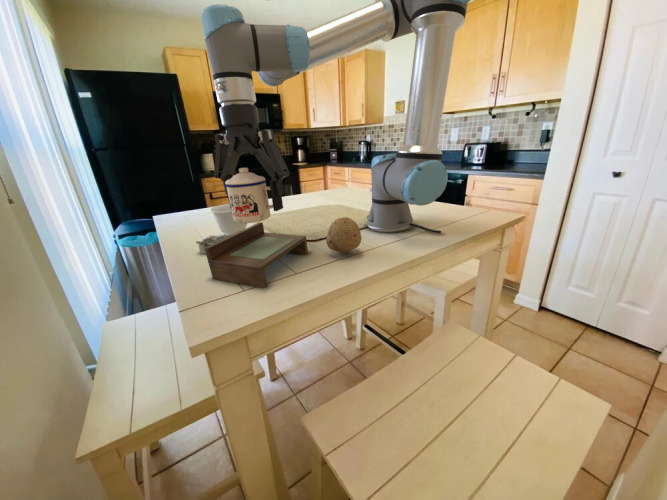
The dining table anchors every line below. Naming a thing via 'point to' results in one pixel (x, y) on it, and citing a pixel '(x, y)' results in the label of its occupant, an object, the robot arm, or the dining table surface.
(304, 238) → the shelf
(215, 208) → the teacup
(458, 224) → the dining table surface
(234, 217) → the teacup with lid
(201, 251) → the egg carton
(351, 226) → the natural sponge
